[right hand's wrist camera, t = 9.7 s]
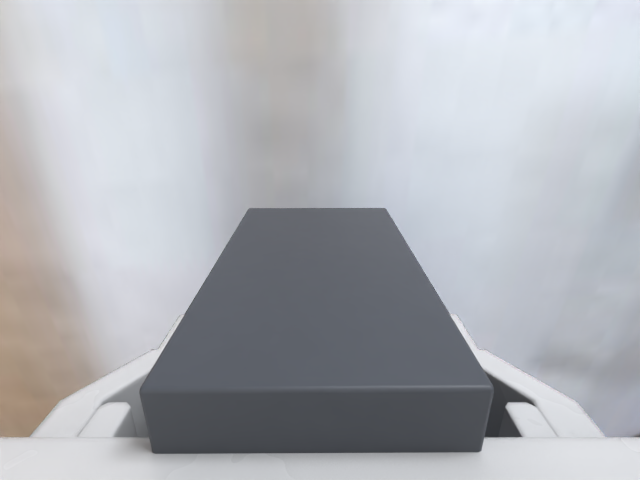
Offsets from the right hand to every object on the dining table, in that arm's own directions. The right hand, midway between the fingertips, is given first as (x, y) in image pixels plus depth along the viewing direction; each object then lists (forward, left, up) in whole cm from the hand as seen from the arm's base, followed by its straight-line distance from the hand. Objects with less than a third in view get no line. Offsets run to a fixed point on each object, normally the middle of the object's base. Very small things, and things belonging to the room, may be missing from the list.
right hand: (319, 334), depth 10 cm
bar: (-4, +9, -3) cm, 11 cm away
